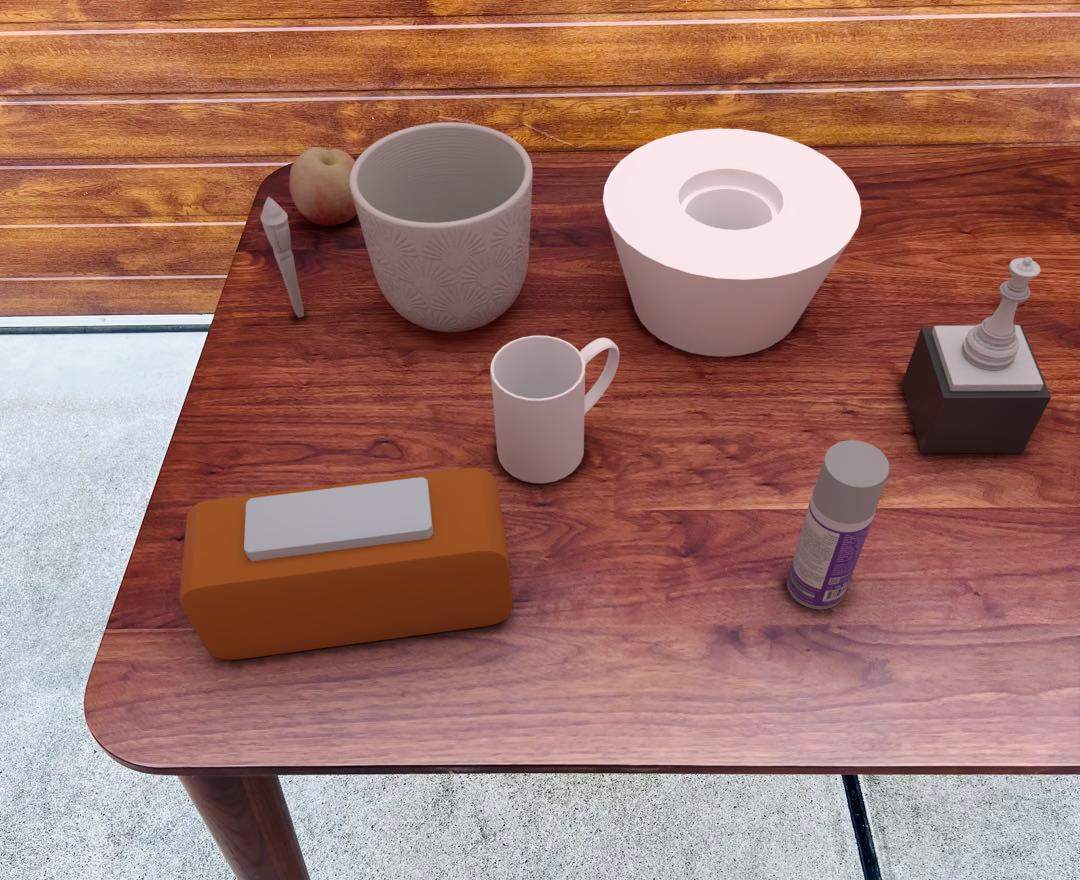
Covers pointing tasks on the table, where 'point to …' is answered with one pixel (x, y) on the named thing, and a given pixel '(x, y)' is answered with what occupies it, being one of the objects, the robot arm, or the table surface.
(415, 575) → the alarm clock
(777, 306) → the white tapered cylinder
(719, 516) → the table surface
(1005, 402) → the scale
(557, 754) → the table surface
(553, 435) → the mug
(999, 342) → the chess piece
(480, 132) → the planter
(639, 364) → the table surface
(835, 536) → the container
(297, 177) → the fruit
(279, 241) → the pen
